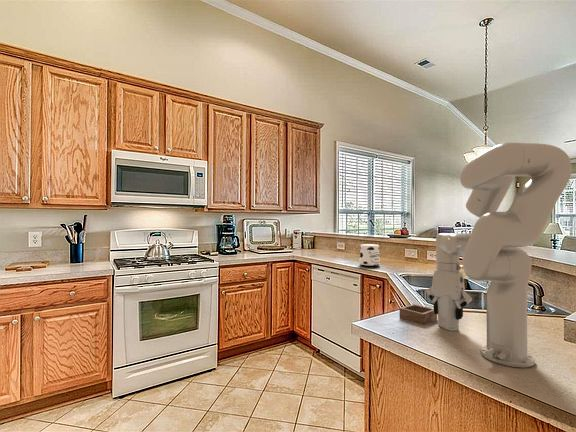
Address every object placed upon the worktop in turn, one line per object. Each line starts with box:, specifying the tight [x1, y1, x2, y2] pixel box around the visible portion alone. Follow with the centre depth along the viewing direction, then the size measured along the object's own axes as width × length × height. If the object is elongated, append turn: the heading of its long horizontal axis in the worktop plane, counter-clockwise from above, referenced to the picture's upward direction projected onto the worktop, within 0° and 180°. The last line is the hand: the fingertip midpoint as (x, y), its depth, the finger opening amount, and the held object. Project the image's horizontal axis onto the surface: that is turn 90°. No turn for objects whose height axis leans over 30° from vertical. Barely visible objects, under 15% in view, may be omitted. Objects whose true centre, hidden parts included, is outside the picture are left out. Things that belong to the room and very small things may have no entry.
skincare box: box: [437, 295, 460, 332], centre depth 114 cm, size 6×4×12 cm
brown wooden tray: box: [399, 303, 438, 326], centre depth 124 cm, size 10×10×4 cm
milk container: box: [358, 243, 381, 267], centre depth 264 cm, size 17×17×18 cm
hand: (447, 315), depth 114 cm, fingers closed on skincare box, 7 cm apart
